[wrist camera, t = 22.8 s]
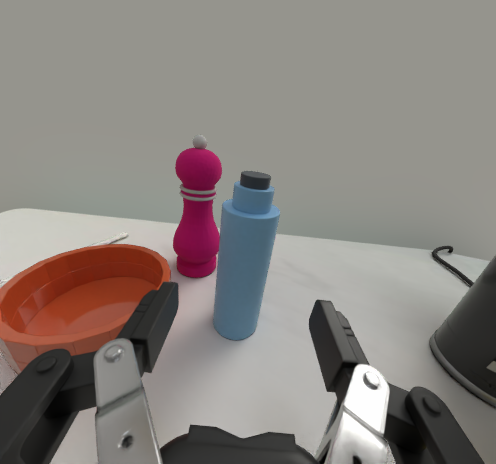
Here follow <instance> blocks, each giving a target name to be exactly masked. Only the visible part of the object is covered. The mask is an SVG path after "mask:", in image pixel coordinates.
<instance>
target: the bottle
mask: <svg viewBox="0 0 496 464" xmlns="http://www.w3.org/2000/svg"><path fill="white" fill-rule="evenodd" d="M270 180H271V176H270V175H268V174H264V173H260V172H253V171H244V172H242V173H241V180H240V181H238V182H235V183H234V192H233V199H229V200H226V201H225V202H224V203H223V204H222V216H221V228H220V241H219V253H218V266H217V279H216V291H215V304H214V317H213V324H214V327H215V329H216V330H217V332H218V333H219V334H220V335H221V336H223V337H225V338H227V339H231V340H241V339H245V338H247V337H249V336H250V335H251V334H252V333H253V332H254V331H255V329H256V326H257V321H258V316H259V311H260V307H261V302H262V297H263V292H264V287H265V283H266V278H267V273H268V268H269V264H270V259H271V254H272V249H273V245H274V240H275V235H276V230H277V226H278V220H279V216H280V210H279V209H278V208H277V207H276V206H274V205H272V200H273V195H274V187H272V186H270Z"/></svg>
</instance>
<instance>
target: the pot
mask: <svg viewBox="0 0 496 464" xmlns="http://www.w3.org/2000/svg"><path fill="white" fill-rule="evenodd" d="M164 281H166V282H171V270H170V268H169V265H168V263H167V260H166V259H164V258H163V257H162V256H161V255H160V254H159V253H157V252H155V251H153V250H150V249H148V248H145V247H141V246H135V245H129V244H105V245H97V246H90V247H84V248H80V249H76V250H72V251H68V252H64V253H61V254H58V255H56V256H53V257H50V258H48V259H45V260H43V261H40V262H38V263H36V264H34V265H33V266H31V267H29V268H27V269H26V270H24V271H22V272H20V273H18V274H17V275H15V276H14V277H13V278H11V279H10V280H9V281H8V282H7V283H6V284H4V285H3V286H2V287H1V288H0V350H1V352H2V353H3V355H4V357H5V358H6V360H7V362H8V363H9V365H10V367H12V368H13V369H14V370H15V371H16V373H17V374H18V375H19V374H20V373H21V372H22V370H23V369H24V368H25V367H26V366H27V365H28V364H29V363H30V362H31V361H32V360H33V359H35V358H36V357H37V356H39V355H41V354H43V353H45V352H47V351H50V350H53V349H66V350H68V351H69V352H70V354H71V356H74V355H79V354H84V353H90V352H94V351H97V350H99V349H100V348H101V347H102V346H103V345H104V344H106V343H107V342H109V341H111V340H114V339H115V338H116V337H117V336H118V334H119V333H120V331H121V330H122V328H123V327H124V325H125V324H126V322H127V321H128V319H129V318H130V316H131V314H132V313H133V312H134V310H135V308H136V307H137V305H139V302H140V301H141V299H142V298H143V296H144V295H146V294H147V293H148V292H150V291H151V290H158V289H159V288H160V286H161V284H162V283H163V282H164Z"/></svg>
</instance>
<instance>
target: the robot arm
mask: <svg viewBox="0 0 496 464" xmlns="http://www.w3.org/2000/svg"><path fill="white" fill-rule="evenodd" d="M443 249H449V251H448V252H447V253H452V252H453V247H451V246H442V247H439V248H436V249H435V250H434V251H433V252H432V254H433V256H434V257H435V258H436V259H437V260H438V261H439V262H440V263H442V264H443V265H445V266H446V267H448V268H449V269H451V270H452V271H453V272H455V273H456V274H457V275H459V276H460V277H461V278H462V279H463V280H464V281H466V282H467V283H468V284H469V285H470V286H471V288H470V289H469V290H468V292H467V293H466V294H465V296H464V297H463V298H462V300H461V301H460V302H459V303H458V305H457V306H456V307H455V309H454V310H453V311H452V313H451V314H450V315H449V316H448V317H447V319H446V320H445V321H444V323H443V324H442V325H441V327H440V328H439V329H438V330H437V331H435V333H434V334H433V335H432V337H431V339H430V345H431V348H432V351H433V353H434V354H435V356H436V358H437V359H438V361H439V362H440V363H441V364H442V366H443V367H444V368H445V369H446V370H447V371H448V372H449V373H450V374H451V375H452V376H453V377H454V378H455V379H456V380H457V381H458V382H460V383H461V384H462V385H463V386H464V387H466V388H467V389H468V390H470V391H471V392H472V393H474V394H475V395H477V396H478V397H479V398H481V399H483V400H484V401H486V402H488V403H489V404H491V405H493V406H495V407H496V255H495V257H494V258H493V259H492V260H491V262H490V263H489V264H488V266H487V267H486V268H485V269H484V271H483V272H482V273H481V275H480V276H479V277H478V279H477V280H476V281H475V283H473V282H472V281H471V280H470V279H468V278H467V277H466V276H465V275H463V274H462V273H461V272H460V271H458V270H457V269H456V268H454V267H453V266H451V265H450V264H448V263H447V262H445V261H444V260H442V259H441V258H440V257H439V256H438V255H437V254H436V253H437V252H438V251H440V250H443ZM177 309H178V283H175V282H166V281H164V282H163V283H162V284H161V286H160V288H159V289H158V290H151V291H150V292H148V293H147V294H146V295H144V296H143V298H142V299H141V301H140V302H139V305H137V307H136V308H135V310H134V312H133V313H132V314H131V316H130V318H129V319H128V321H127V322H126V324H125V325H124V327H123V328H122V330H121V331H120V333H119V334H118V336H117V337H116V338H115V339H114V340H111V341H109V342H107V343H106V344H104V345H103V346H102V347H101V348H100V349H99V350H97V351H94V352H90V353H84V354H79V355H74V356H71V354H70V352H69V351H68V350H66V349H53V350H50V351H47V352H45V353H43V354H41V355H39V356H37V357H36V358H35V359H33V360H32V361H31V362H30V363H29V364H28V365H27V366H26V367H25V368H24V369H23V370H22V372H21V373H20V374H19V375H18V376H17V377H16V378H15V379H14V380H13V382H12V383H11V384H10V385H9V386H8V387H7V388H6V389H5V390H4V392H3V393H2V394H1V395H0V464H49V463H50V462H51V460H52V458H53V456H54V455H55V453H56V451H57V449H58V448H59V446H60V444H61V442H62V441H63V439H64V437H65V435H66V434H67V432H68V430H69V428H70V426H71V425H72V423H73V421H74V419H75V418H76V416H77V414H78V412H79V411H81V410H85V409H88V408H92V407H96V406H97V413H96V414H95V426H96V441H97V456H98V464H386V461H387V453H388V444H389V446H390V449H391V451H392V454H393V457H394V459H395V462H396V464H484V462H483V460H482V459H481V457H480V456H479V454H478V453H477V451H476V450H475V448H474V447H473V445H472V444H471V442H470V441H469V439H468V438H467V436H466V435H465V433H464V432H463V430H462V428H461V427H460V425H459V424H458V422H457V421H456V419H455V418H454V416H453V415H452V413H451V412H450V410H449V409H448V407H447V406H446V405H445V403H444V402H443V401H442V400H441V399H440V398H439V397H438V396H436V395H435V394H434V393H432V392H431V391H429V390H427V389H425V388H423V387H414V388H412V389H411V391H410V392H408V391H406V390H404V389H401V388H399V387H397V386H394V385H392V384H390V383H388V382H387V381H386V379H385V378H384V377H383V375H382V374H381V373H380V372H379V371H377V370H376V369H375V368H373V367H371V366H370V365H369V363H368V361H367V359H366V357H365V355H364V353H363V351H362V349H361V347H360V345H359V343H358V341H357V339H356V337H355V335H354V333H353V331H352V330H351V326H350V324H349V322H348V320H347V319H346V318H345V317H344V316H343V315H342V314H341V312H338V311H336V310H335V308H334V306H333V304H332V302H331V301H325V300H316V302H315V305H314V307H313V310H312V313H311V316H310V319H309V329H310V333H311V337H312V340H313V344H314V347H315V351H316V354H317V358H318V361H319V365H320V369H321V372H322V376H323V379H324V383H325V386H326V390H327V392H335V393H336V396H337V400H336V402H335V405H334V408H333V411H332V413H331V416H330V419H329V422H328V425H327V427H326V430H325V433H324V436H323V439H322V441H321V443H320V445H319V448H318V450H317V452H316V454H315V457H313V456H312V455H311V454H310V453H309V452H307V451H306V450H305V449H304V448H302V447H300V446H299V445H297V444H295V436H294V434H285V433H274V432H267V433H263V434H260V435H256V436H252V437H248V438H244V439H243V438H239V437H237V436H235V435H232V434H230V433H228V432H226V431H224V430H221V429H219V428H217V427H210V426H200V425H190V428H189V433H188V434H184V435H181V436H179V437H176V438H175V439H173V440H171V441H170V442H168V443H167V444H165V445H164V446H163V447H162V448H161V449H159V445H158V441H157V437H156V433H155V429H154V425H153V421H152V417H151V413H150V409H149V405H148V401H147V397H146V393H145V390H144V387H143V384H142V380H141V378H142V375H143V373H144V372H148V373H151V372H152V370H153V368H154V365H155V363H156V361H157V358H158V356H159V353H160V351H161V349H162V346H163V344H164V342H165V339H166V337H167V335H168V332H169V330H170V327H171V325H172V323H173V320H174V318H175V316H176V313H177ZM384 438H385V439H387V441H388V443H387V441H386V440H385V439H384Z"/></svg>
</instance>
